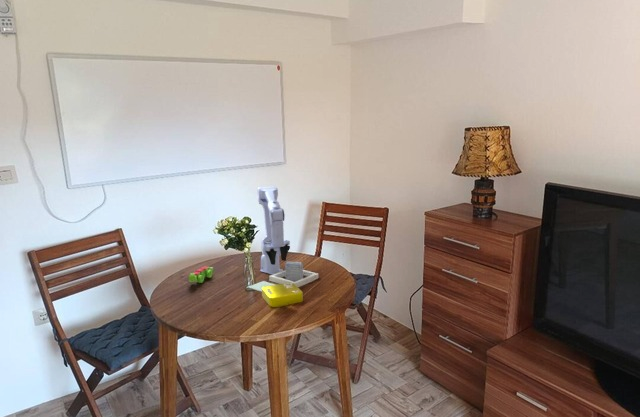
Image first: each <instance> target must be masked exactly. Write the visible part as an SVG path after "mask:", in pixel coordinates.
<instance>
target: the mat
mask: <svg viewBox="0 0 640 417" xmlns="http://www.w3.org/2000/svg"><path fill="white" fill-rule="evenodd" d="M271 285H276V283H273V282H270V281H268V282H267V281H266V280H262V281H260V282H257V283H254V284H252V285H250V286H247V288H248V289H250V290H255V291H256V292H257V291H258V292H259V293H262V287H265V286H271Z"/></svg>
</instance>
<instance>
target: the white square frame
mask: <svg viewBox="0 0 640 417" xmlns="http://www.w3.org/2000/svg"><path fill="white" fill-rule="evenodd" d="M304 276H305V277H304ZM268 277H269V281H268V282H270V283H274V284H284V283H290V282H291V283H294V284H295V285H296V286H297V287H298V288H300V287H303V286H305V285H307V284H309V283H312V282H314V281H315V280H318V279H319V273H318V272H317V273H316V272H314V271H313V272H312V271H310V270H305V269H303V279H301V280H298V281H290V280H287V279H285V269H284V270H283V271H281V272H278V273H275V274H270V275H269V276H268Z"/></svg>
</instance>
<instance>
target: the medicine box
mask: <svg viewBox="0 0 640 417" xmlns="http://www.w3.org/2000/svg"><path fill="white" fill-rule="evenodd" d="M303 264H304V262H302V261H290V260H289V261H286V263H285V264H284V270H285V277H284V279H287V280H290V281H294V282H296V281H298V280H301V279H303V278H304V275H303V270H304V267H303Z"/></svg>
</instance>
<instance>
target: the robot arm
mask: <svg viewBox="0 0 640 417" xmlns="http://www.w3.org/2000/svg"><path fill="white" fill-rule="evenodd" d="M278 189H279V188H278V187H277V186H275V185H274V186H262V187H261V186H259V187H257V201H258V204H259V205H261V206H262V208H263V218H264V226H265V237H264V238H263V239H261V253H262V254H261V256H260V270H259V271H260V272H262V273H265V274H269V275H273V274H276V273H279V272H281V271H284V270H283V269H282V268H280V260H281V261H283V262H287V261H286V260H287V256H288V254H289V251H290V249H291V246H290V244H291V242H290V240H285V235H284V231H285V230H284V221H285V216H286V214H285V210H284V208H281V205H280V202H279V201H278V196H279V191H278Z"/></svg>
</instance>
